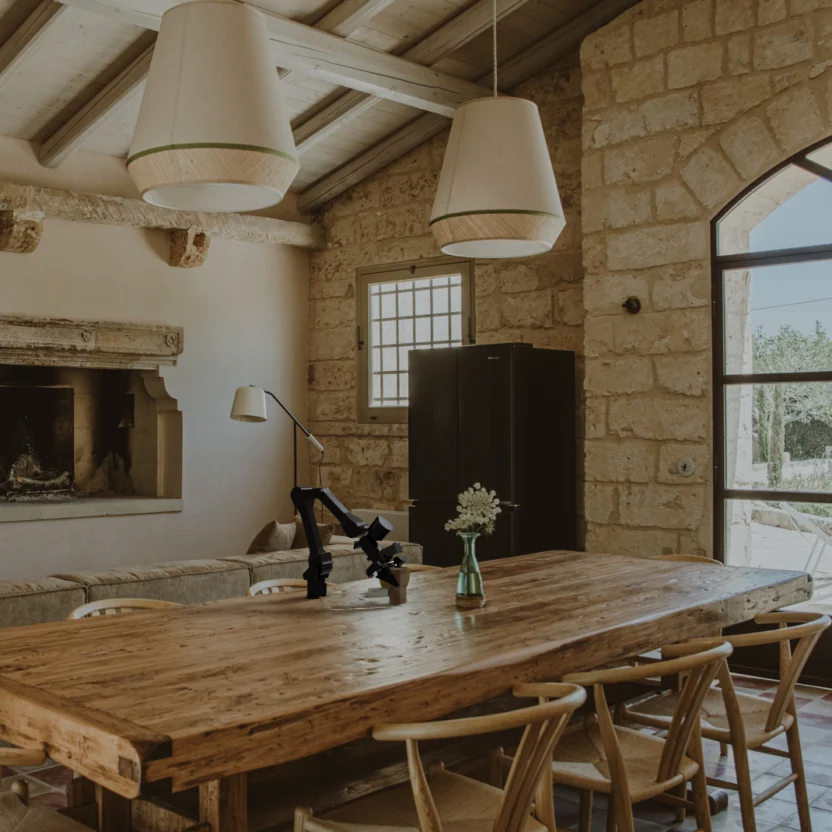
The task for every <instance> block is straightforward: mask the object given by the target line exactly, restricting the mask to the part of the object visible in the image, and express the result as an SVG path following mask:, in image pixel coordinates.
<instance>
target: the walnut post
mask: <svg viewBox="0 0 832 832" xmlns="http://www.w3.org/2000/svg"><path fill="white" fill-rule="evenodd" d="M391 573H392V574H393V576H394V577H395V579H396V580H397V582H398V584H399V586H398V587H395V586H393V585H391V584H389V602H388V603H389V605H396V606H402V605H405V604H407V603H408V602H407V594H408V593H407V592H408V591H407V587H408V586H407V569H405V568H393V569H391Z"/></svg>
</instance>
